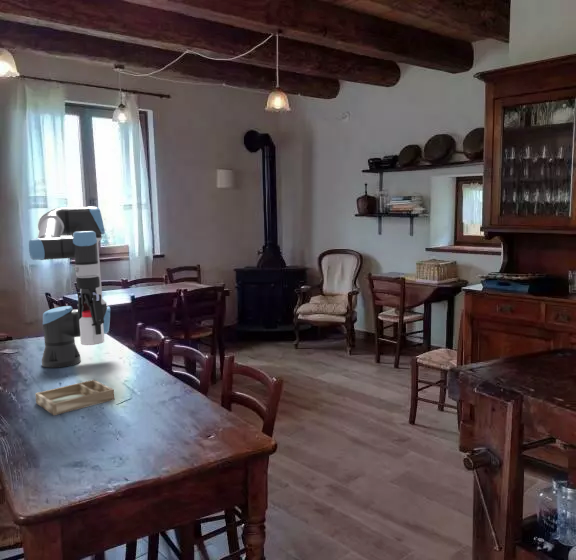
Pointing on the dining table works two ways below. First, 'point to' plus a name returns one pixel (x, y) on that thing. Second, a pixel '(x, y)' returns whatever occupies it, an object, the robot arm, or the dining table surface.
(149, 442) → the dining table surface
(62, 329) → the robot arm
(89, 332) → the pill bottle
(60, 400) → the crate
